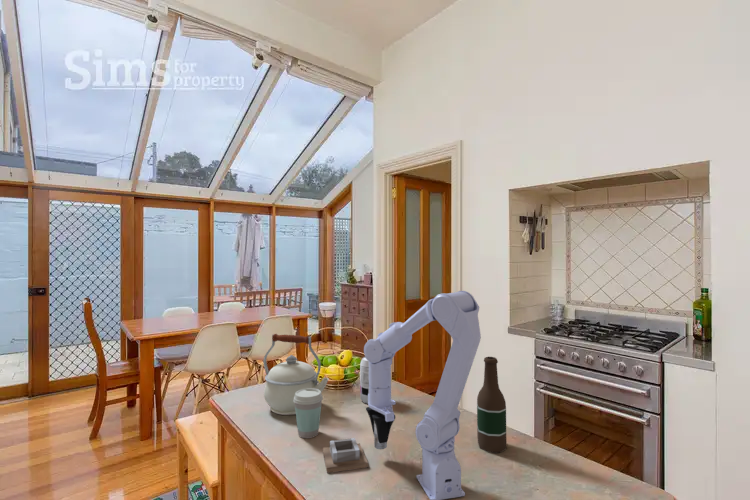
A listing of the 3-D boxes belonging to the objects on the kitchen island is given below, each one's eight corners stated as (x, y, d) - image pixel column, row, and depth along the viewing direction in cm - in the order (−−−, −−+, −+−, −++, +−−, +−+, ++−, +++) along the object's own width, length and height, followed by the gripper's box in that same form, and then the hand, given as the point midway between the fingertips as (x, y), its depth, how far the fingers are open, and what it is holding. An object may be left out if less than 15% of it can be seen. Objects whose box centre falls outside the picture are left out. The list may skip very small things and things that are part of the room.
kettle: (248, 413, 128) (248, 338, 128) (278, 394, 145) (278, 328, 146) (316, 423, 120) (315, 343, 120) (339, 402, 137) (339, 332, 138)
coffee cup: (327, 436, 111) (327, 394, 111) (298, 443, 107) (298, 399, 107) (316, 425, 119) (316, 385, 119) (289, 431, 114) (289, 390, 115)
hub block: (367, 467, 94) (367, 452, 95) (326, 472, 92) (326, 457, 92) (359, 447, 104) (359, 434, 104) (322, 452, 102) (322, 438, 102)
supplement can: (357, 398, 141) (356, 357, 141) (377, 395, 144) (377, 354, 145) (365, 406, 133) (365, 362, 134) (387, 402, 137) (386, 360, 137)
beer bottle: (486, 455, 100) (485, 362, 100) (471, 441, 107) (470, 355, 108) (512, 451, 102) (511, 360, 102) (496, 438, 109) (495, 353, 110)
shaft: (388, 448, 97) (387, 420, 97) (375, 450, 96) (375, 421, 97) (385, 442, 100) (384, 415, 100) (373, 444, 100) (372, 416, 100)
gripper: (405, 392, 93) (406, 449, 93) (384, 375, 107) (385, 424, 107) (378, 396, 91) (378, 454, 91) (360, 378, 105) (360, 428, 104)
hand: (380, 438), depth 98 cm, fingers closed on shaft, 3 cm apart
